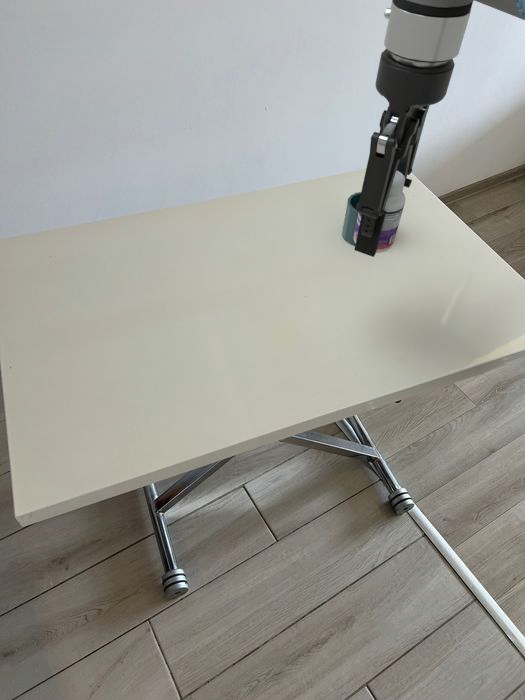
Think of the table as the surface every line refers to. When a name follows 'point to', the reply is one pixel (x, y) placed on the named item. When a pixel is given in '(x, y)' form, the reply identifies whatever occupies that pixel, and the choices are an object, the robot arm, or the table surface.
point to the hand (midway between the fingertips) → (373, 239)
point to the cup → (350, 218)
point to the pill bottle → (389, 214)
